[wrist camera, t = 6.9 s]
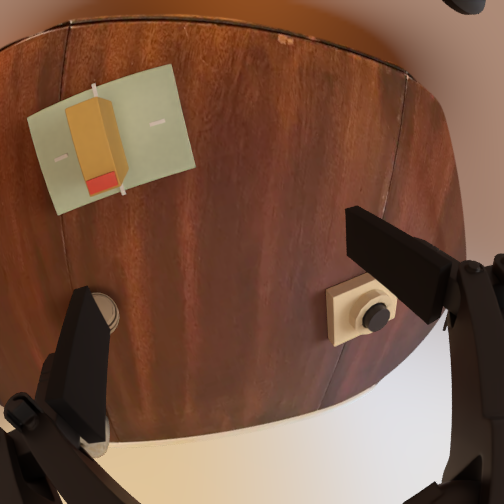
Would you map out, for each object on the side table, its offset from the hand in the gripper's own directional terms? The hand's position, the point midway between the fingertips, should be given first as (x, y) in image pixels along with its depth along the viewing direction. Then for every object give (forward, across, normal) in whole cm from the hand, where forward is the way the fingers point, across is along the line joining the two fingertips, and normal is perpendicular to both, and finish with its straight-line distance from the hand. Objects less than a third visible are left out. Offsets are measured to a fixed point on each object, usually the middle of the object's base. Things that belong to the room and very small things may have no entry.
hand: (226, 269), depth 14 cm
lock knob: (+15, -6, +7) cm, 18 cm away
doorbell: (+19, +21, -24) cm, 36 cm away
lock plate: (+18, -6, +7) cm, 21 cm away
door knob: (+19, -14, -10) cm, 25 cm away
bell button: (+15, +21, -24) cm, 35 cm away
